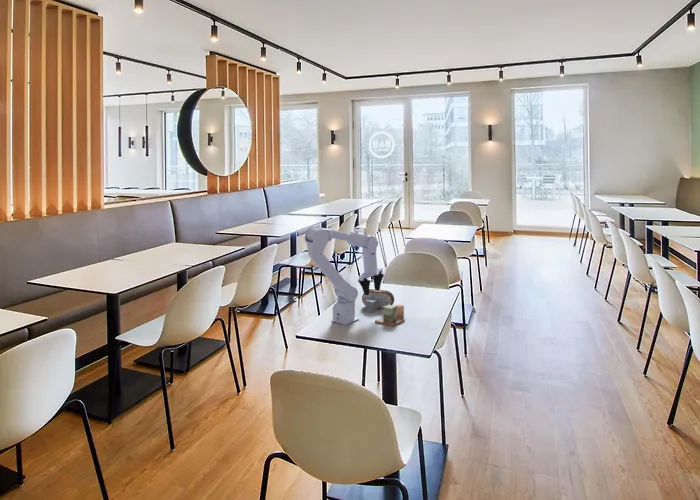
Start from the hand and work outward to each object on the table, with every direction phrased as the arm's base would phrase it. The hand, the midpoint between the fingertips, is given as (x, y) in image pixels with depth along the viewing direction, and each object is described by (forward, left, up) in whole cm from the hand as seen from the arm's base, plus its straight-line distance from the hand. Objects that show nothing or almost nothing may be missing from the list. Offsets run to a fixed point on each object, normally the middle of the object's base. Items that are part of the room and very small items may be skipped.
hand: (372, 292), depth 210 cm
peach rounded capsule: (+5, -11, -11) cm, 16 cm away
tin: (+11, +5, -11) cm, 16 cm away
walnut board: (-3, -11, -10) cm, 16 cm away
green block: (-3, -12, -10) cm, 15 cm away
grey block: (+5, +4, -11) cm, 12 cm away
